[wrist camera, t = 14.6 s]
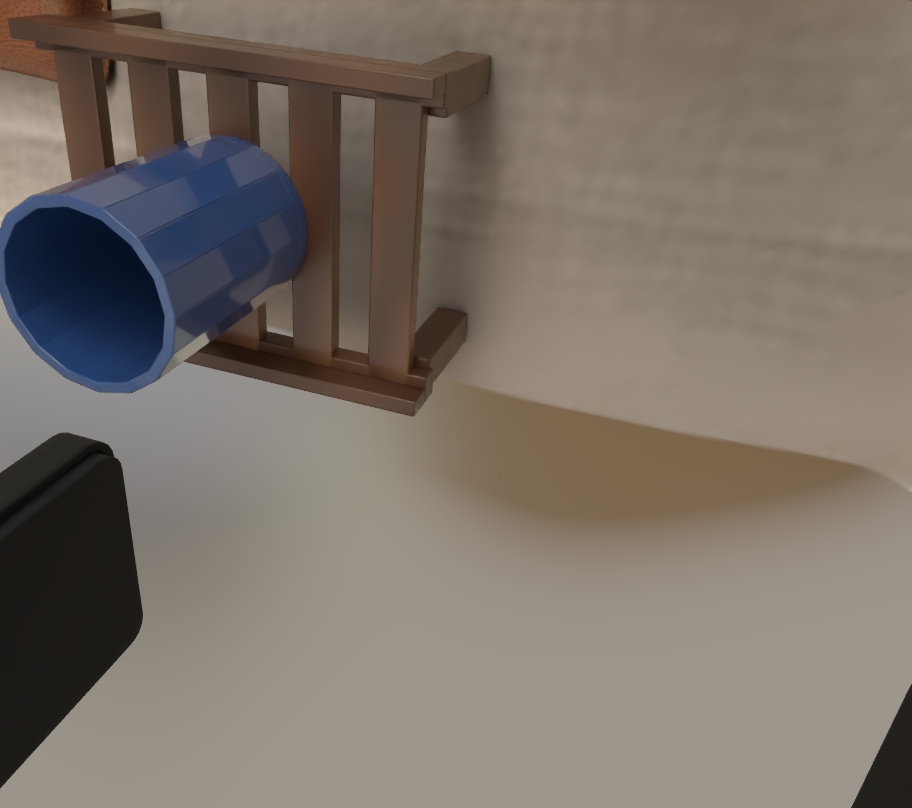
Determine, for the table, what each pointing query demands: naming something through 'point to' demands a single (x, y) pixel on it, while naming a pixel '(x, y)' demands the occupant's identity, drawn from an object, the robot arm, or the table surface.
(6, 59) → the sunglasses case
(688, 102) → the table surface
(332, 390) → the rack
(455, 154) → the table surface
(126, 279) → the cup
